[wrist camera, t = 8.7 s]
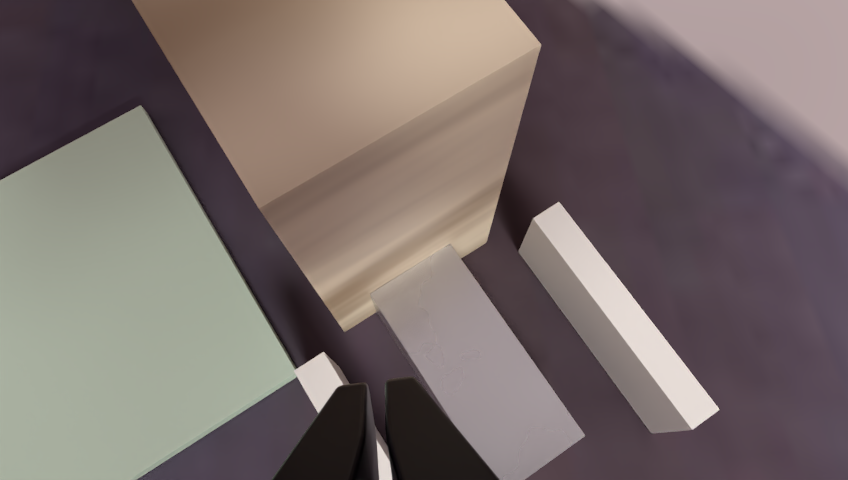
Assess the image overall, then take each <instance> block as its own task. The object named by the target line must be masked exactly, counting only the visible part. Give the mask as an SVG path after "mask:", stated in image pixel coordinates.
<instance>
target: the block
mask: <svg viewBox="0 0 848 480" xmlns="http://www.w3.org/2000/svg"><path fill="white" fill-rule="evenodd" d="M132 2H133V3H134V5H135V7H136V8H137V10H138V12H139V13H140V15H141V16H142V18H143V20H144V21H145V23H146V25H147V26H148V28H149V30H150V31H151V33H152V34H153V36H154V38H155V39H156V41H157V43H158V44H159V46H160V48H161V49H162V51H163V52H164V54H165V56H166V57H167V59H168V61H169V62H170V64H171V66H172V67H173V69H174V70H175V72H176V74H177V75H178V77H179V79H180V80H181V82H182V84H183V85H184V87H185V89H186V90H187V92H188V93H189V95H190V97H191V98H192V100H193V102H194V103H195V105H196V107H197V108H198V110H199V111H200V113H201V115H202V116H203V118H204V120H205V121H206V123H207V125H208V126H209V128H210V129H211V131H212V133H213V134H214V136H215V138H216V139H217V141H218V143H219V144H220V146H221V148H222V149H223V151H224V152H225V154H226V156H227V157H228V159H229V161H230V162H231V164H232V166H233V167H234V169H235V170H236V172H237V174H238V175H239V177H240V179H241V180H242V182H243V184H244V185H245V187H246V188H247V190H248V192H249V193H250V195H251V197H252V198H253V200H254V202H255V203H256V205H257V206H258V208H259V210H260V211H261V213H262V214H263V215H264V217H265V218H266V220H267V221H268V223H269V224H270V225H271V227H272V228H273V230H274V231H275V233H276V234H277V236H278V237H279V238H280V240H281V241H282V243H283V244H284V246H285V247H286V249H287V250H288V251H289V253H290V254H291V256H292V257H293V259H294V260H295V261H296V263H297V264H298V266H299V267H300V269H301V270H302V272H303V273H304V274H305V276H306V277H307V279H308V280H309V282H310V283H311V285H312V286H313V287H314V289H315V290H316V292H317V293H318V295H319V296H320V298H321V299H322V300H323V302H324V303H325V305H326V306H327V308H328V309H329V310H330V312H331V313H332V315H333V316H334V318H335V319H336V321H337V322H338V323H339V325H340V326H341V328H342V329H343V331H344V332H346V331H347V330H349V329H350V328H352V327H353V326H355V325H357V324H358V323H360V322H361V321H363V320H365V319H366V318H368V317H369V316H371V315H372V314H374V313H376V310H375V307H374V304H373V301H372V299H371V296H370V294H371V293H372V292H374V291H375V290H377V289H378V288H380V287H382V286H383V285H385V284H386V283H388V282H390V281H391V280H393V279H394V278H396V277H398V276H399V275H401V274H402V273H404V272H405V271H407V270H409V269H410V268H412V267H413V266H415V265H417V264H418V263H420V262H421V261H423V260H425V259H426V258H428V257H429V256H431V255H432V254H434V253H436V252H437V251H439V250H440V249H442V248H444V247H445V246H447V245H448V244H451V245H452V247H453V248H454V250H455V251H456V253H457V254H458V255H459V257H460V258H463V257H464V256H466V255H467V254H469V253H470V252H472V251H474V250H475V249H477V248H478V247H480V246H482V245H483V244H485V243H486V242H487V239H488V235H489V231H490V228H491V224H492V221H493V217H494V213H495V210H496V206H497V203H498V199H499V195H500V192H501V188H502V184H503V181H504V177H505V174H506V170H507V166H508V163H509V159H510V156H511V152H512V148H513V145H514V141H515V138H516V134H517V130H518V127H519V123H520V120H521V116H522V112H523V109H524V105H525V101H526V98H527V94H528V91H529V87H530V83H531V80H532V76H533V73H534V69H535V65H536V62H537V58H538V55H539V51H540V47H541V44H540V42H539V41H538V40H537V39H536V38H535V36H534V35H533V34H532V33H531V32H530V30H529V29H528V28H527V27H526V26H525V24H524V23H523V22H522V21H521V19H520V18H519V17H518V16H517V15H516V13H515V12H514V11H513V10H512V9H511V7H510V6H509V5H508V4H507V3H506V1H505V0H132Z"/></svg>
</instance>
